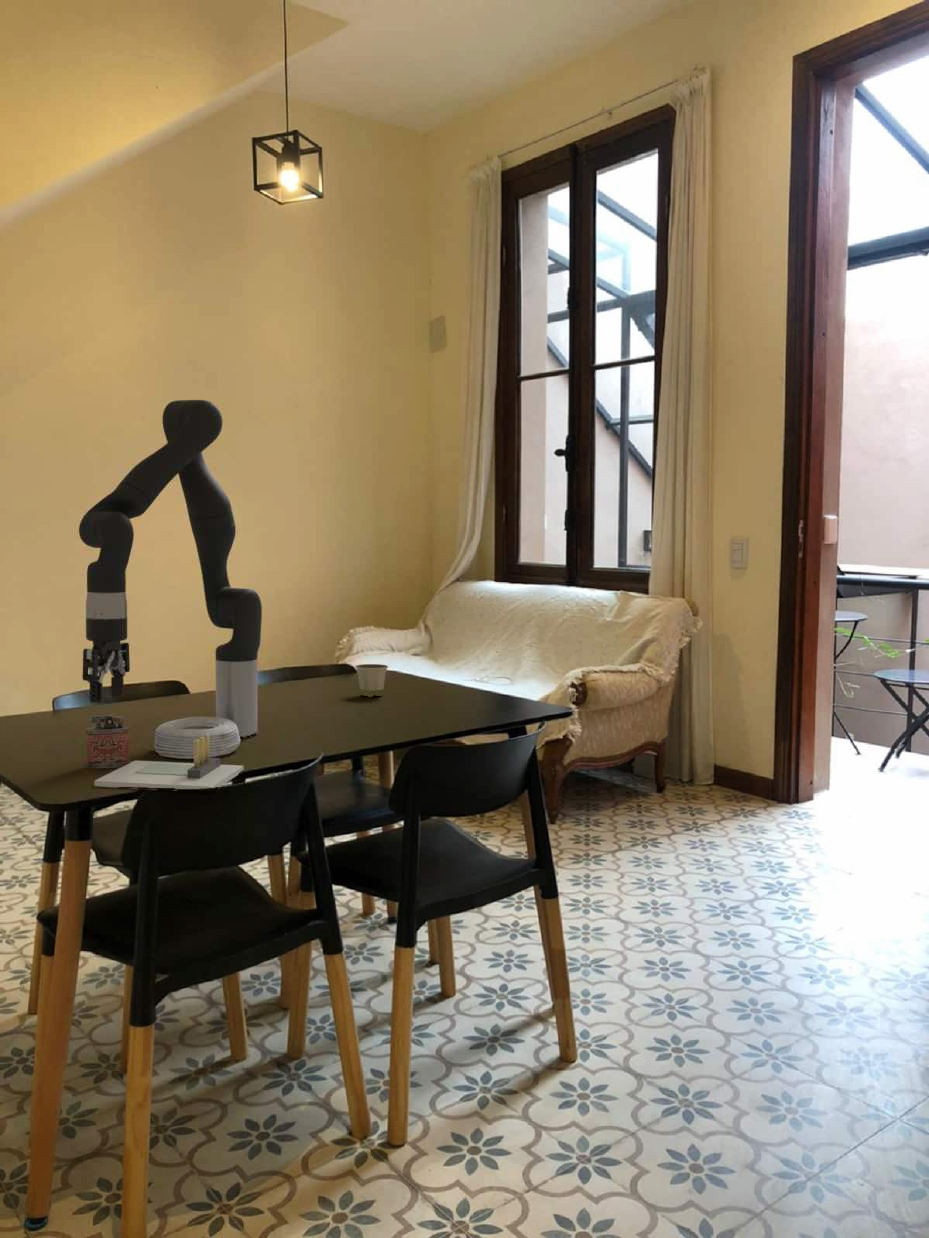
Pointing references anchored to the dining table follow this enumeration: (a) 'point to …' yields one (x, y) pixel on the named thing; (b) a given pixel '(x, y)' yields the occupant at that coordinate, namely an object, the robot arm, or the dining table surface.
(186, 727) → the cable
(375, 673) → the flower pot
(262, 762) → the dining table surface
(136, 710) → the dining table surface
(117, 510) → the robot arm
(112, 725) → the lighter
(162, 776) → the board
